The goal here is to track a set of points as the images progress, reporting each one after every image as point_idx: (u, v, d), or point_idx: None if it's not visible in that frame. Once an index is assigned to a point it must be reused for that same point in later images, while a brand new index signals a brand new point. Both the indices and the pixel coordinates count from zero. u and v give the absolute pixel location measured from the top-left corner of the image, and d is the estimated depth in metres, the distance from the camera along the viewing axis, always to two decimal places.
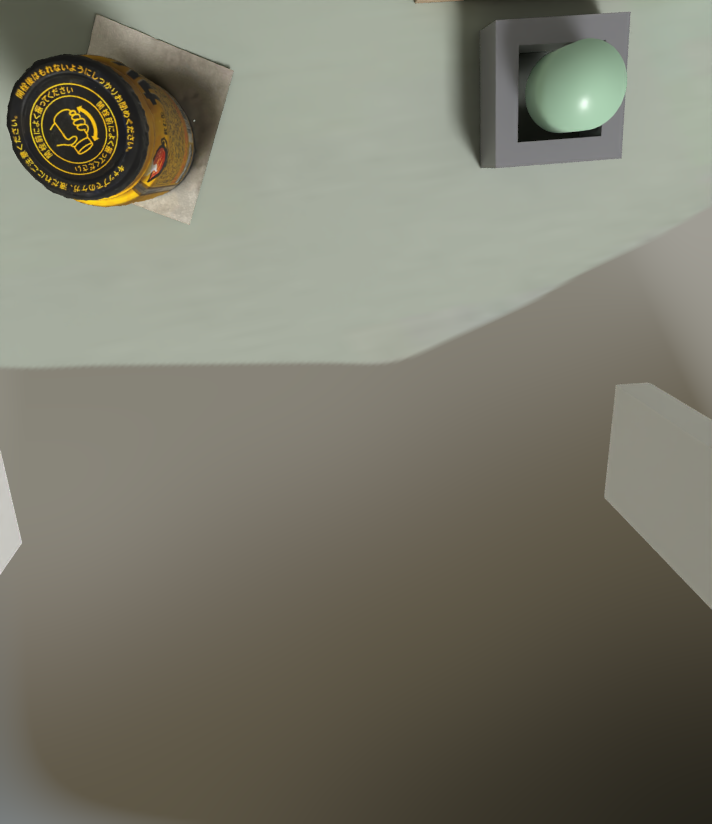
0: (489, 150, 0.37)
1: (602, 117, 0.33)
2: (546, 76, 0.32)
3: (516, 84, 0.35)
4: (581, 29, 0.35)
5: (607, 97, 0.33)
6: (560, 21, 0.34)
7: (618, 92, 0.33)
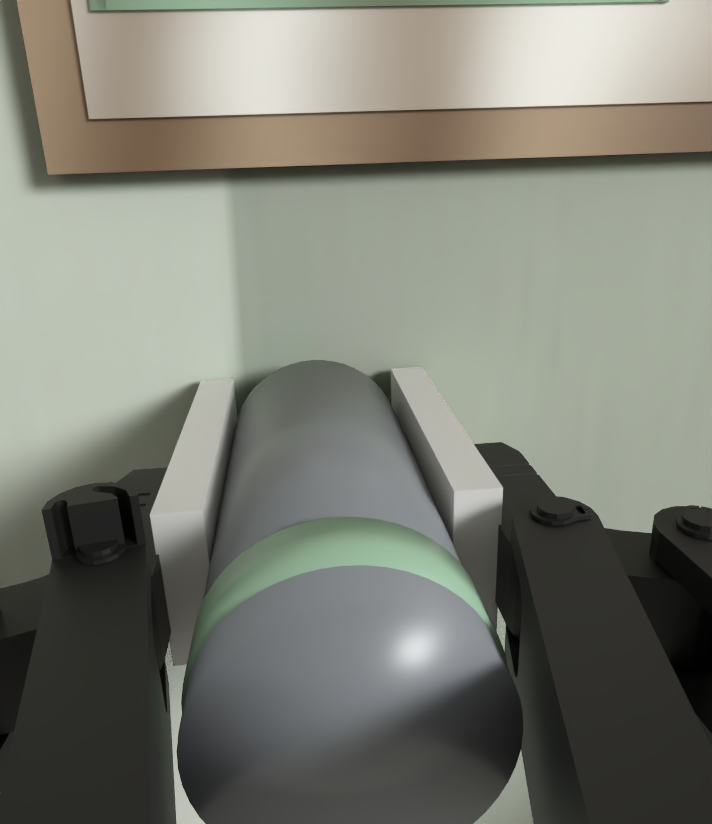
0: None
1: None
2: None
3: None
4: None
5: None
6: None
7: None
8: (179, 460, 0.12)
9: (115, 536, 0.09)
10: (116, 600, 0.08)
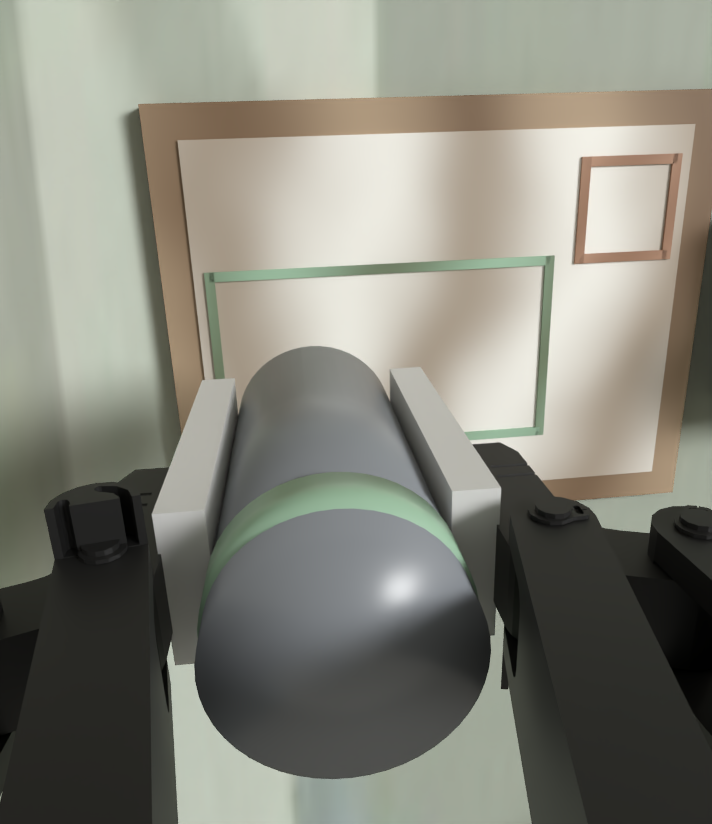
0: None
1: None
2: None
3: None
4: None
5: None
6: None
7: None
8: (181, 460, 0.12)
9: (117, 536, 0.09)
10: (118, 600, 0.08)
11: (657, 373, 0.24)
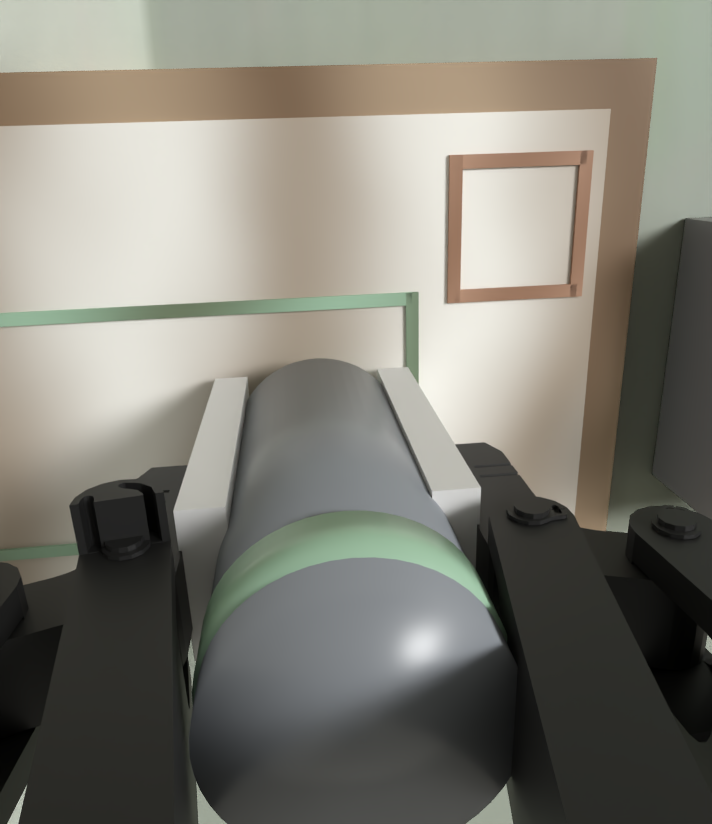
0: None
1: None
2: None
3: None
4: None
5: None
6: None
7: None
8: (199, 457, 0.12)
9: (140, 532, 0.09)
10: (141, 596, 0.08)
11: (572, 446, 0.18)
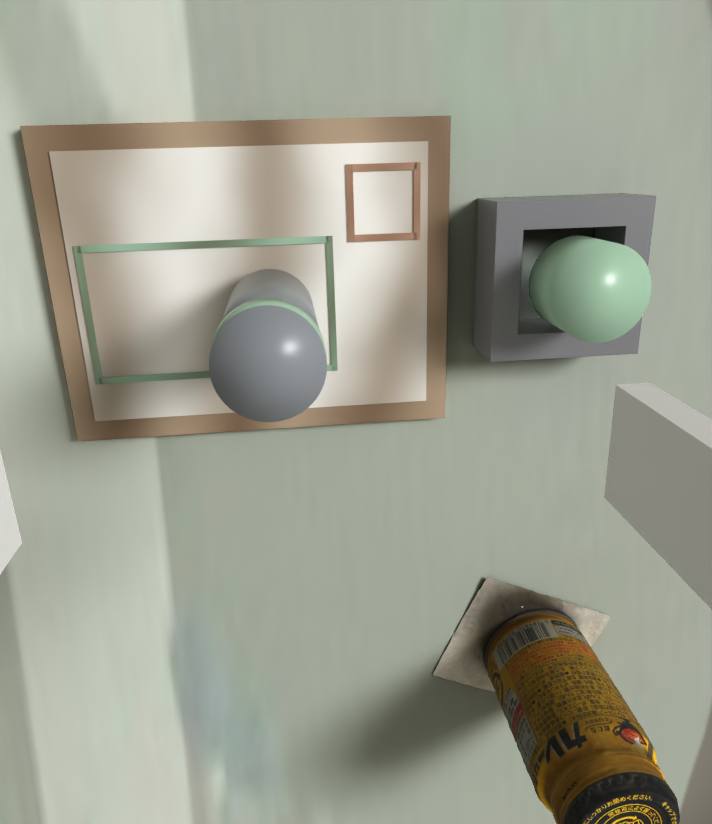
0: None
1: (641, 270, 0.27)
2: None
3: (555, 334, 0.31)
4: (509, 262, 0.29)
5: (620, 266, 0.27)
6: (499, 288, 0.30)
7: (617, 252, 0.27)
8: None
9: None
10: None
11: (422, 325, 0.33)
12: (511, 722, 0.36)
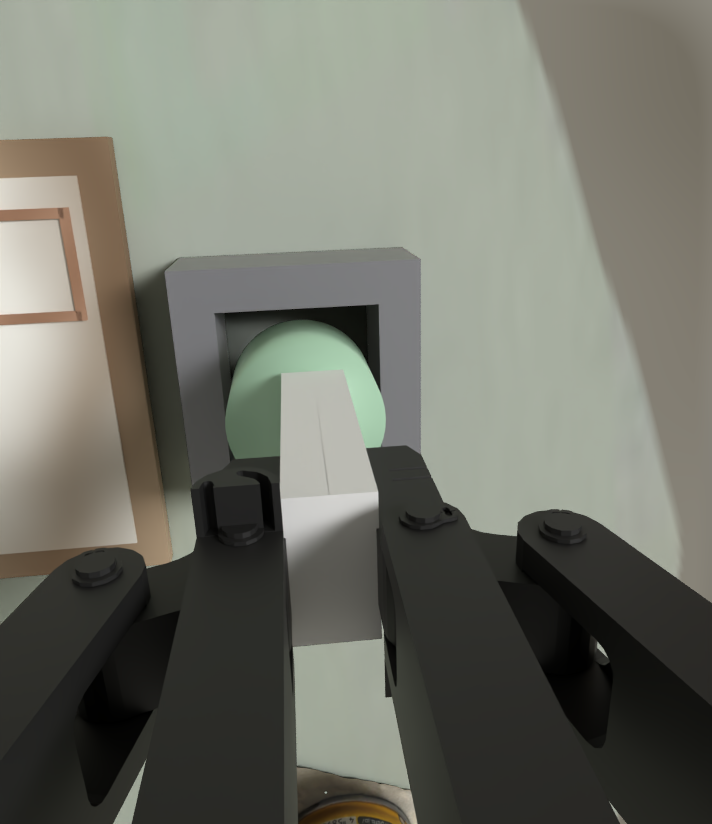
0: None
1: (364, 387, 0.17)
2: None
3: None
4: (200, 361, 0.19)
5: None
6: (189, 399, 0.20)
7: (319, 360, 0.16)
8: (289, 448, 0.12)
9: (255, 520, 0.09)
10: (254, 583, 0.08)
11: (114, 440, 0.22)
12: None
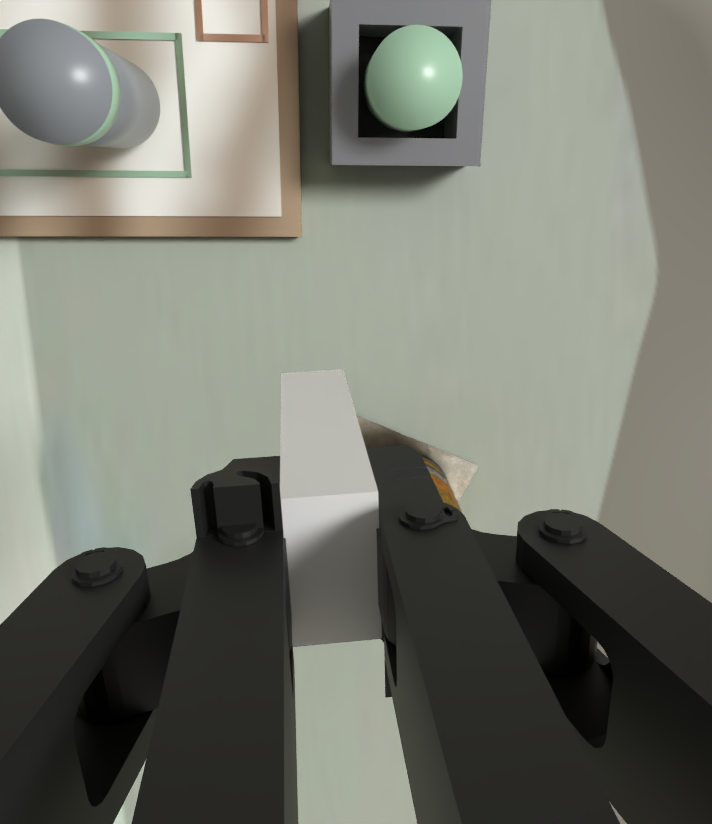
0: None
1: (451, 55, 0.29)
2: (401, 127, 0.30)
3: (396, 140, 0.31)
4: (346, 58, 0.30)
5: (431, 49, 0.28)
6: (337, 85, 0.30)
7: (427, 35, 0.28)
8: (289, 448, 0.12)
9: (255, 520, 0.09)
10: (254, 583, 0.08)
11: (275, 135, 0.33)
12: None
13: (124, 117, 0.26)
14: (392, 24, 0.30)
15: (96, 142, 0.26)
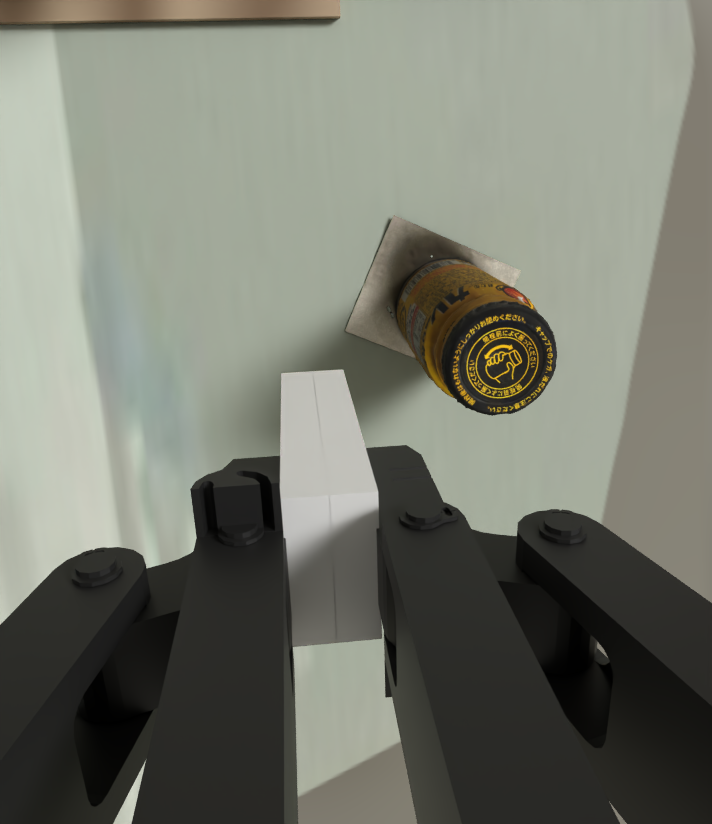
0: None
1: None
2: None
3: None
4: None
5: None
6: None
7: None
8: (289, 448, 0.12)
9: (255, 520, 0.09)
10: (254, 583, 0.08)
11: None
12: (410, 331, 0.36)
13: None
14: None
15: None
